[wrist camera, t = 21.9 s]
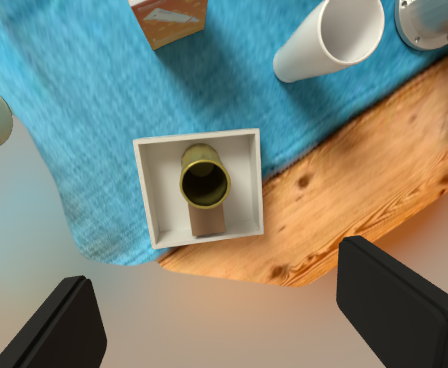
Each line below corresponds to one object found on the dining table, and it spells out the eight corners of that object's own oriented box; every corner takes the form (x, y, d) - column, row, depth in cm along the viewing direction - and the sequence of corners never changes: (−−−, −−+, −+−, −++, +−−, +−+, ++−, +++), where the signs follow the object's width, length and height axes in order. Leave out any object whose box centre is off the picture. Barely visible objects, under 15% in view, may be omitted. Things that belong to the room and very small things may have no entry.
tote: (250, 128, 38) (259, 128, 33) (255, 221, 42) (263, 233, 37) (140, 138, 36) (132, 140, 31) (157, 234, 40) (152, 249, 35)
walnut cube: (218, 190, 39) (222, 200, 34) (221, 218, 40) (225, 231, 35) (188, 194, 38) (187, 204, 34) (192, 222, 40) (192, 236, 35)
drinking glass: (318, 60, 36) (400, 19, 22) (290, 97, 37) (352, 81, 23) (285, 29, 35) (351, -38, 20) (258, 69, 36) (302, 32, 21)
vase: (202, 188, 38) (208, 224, 25) (172, 164, 37) (161, 188, 23) (227, 160, 38) (247, 181, 24) (198, 134, 36) (202, 141, 22)
